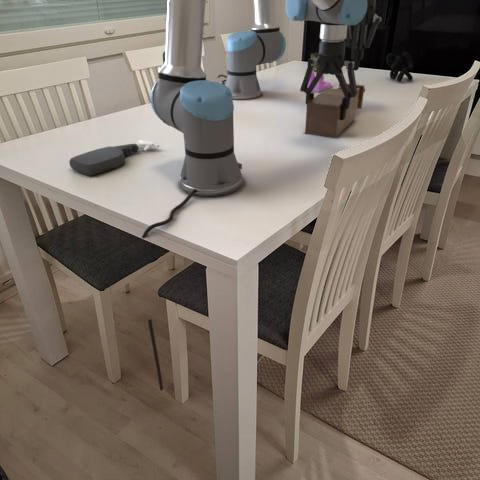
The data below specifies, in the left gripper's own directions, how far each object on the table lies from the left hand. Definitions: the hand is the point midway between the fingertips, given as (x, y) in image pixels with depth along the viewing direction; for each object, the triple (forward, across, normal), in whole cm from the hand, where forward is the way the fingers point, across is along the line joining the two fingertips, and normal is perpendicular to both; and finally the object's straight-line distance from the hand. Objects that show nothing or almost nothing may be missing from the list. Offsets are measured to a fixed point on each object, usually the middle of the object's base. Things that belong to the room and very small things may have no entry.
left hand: (326, 116), depth 140 cm
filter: (+5, +62, -4) cm, 62 cm away
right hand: (-9, 0, -29) cm, 30 cm away
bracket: (+5, +21, -53) cm, 57 cm away
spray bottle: (+5, +44, +48) cm, 65 cm away
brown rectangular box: (+5, 0, -5) cm, 7 cm away
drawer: (+3, 0, -20) cm, 21 cm away
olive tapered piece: (+5, +34, -85) cm, 92 cm away
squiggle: (+5, -6, -82) cm, 82 cm away
